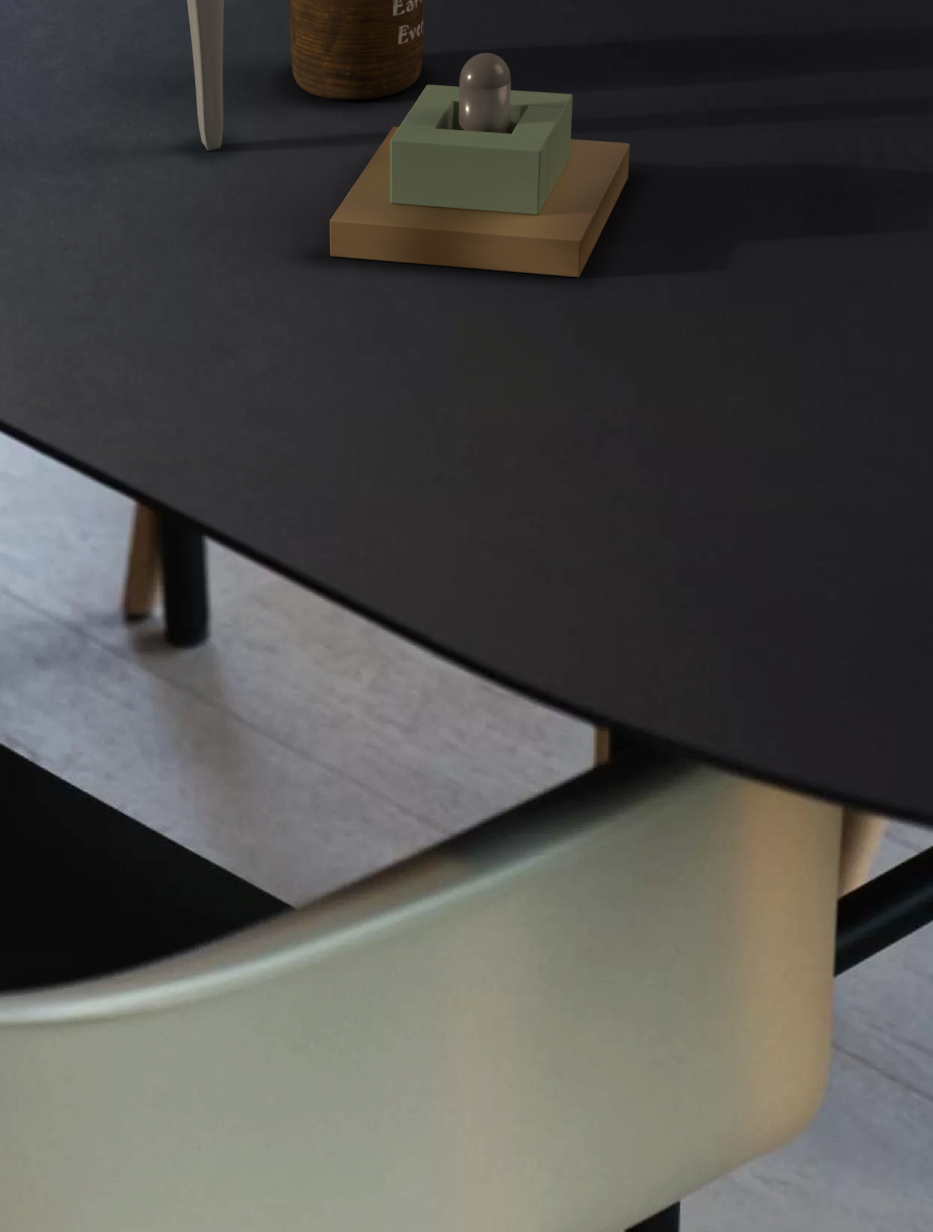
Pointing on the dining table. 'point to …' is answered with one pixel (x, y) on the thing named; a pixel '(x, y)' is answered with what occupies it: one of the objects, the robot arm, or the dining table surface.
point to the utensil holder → (356, 46)
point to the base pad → (476, 235)
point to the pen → (208, 67)
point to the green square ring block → (480, 154)
